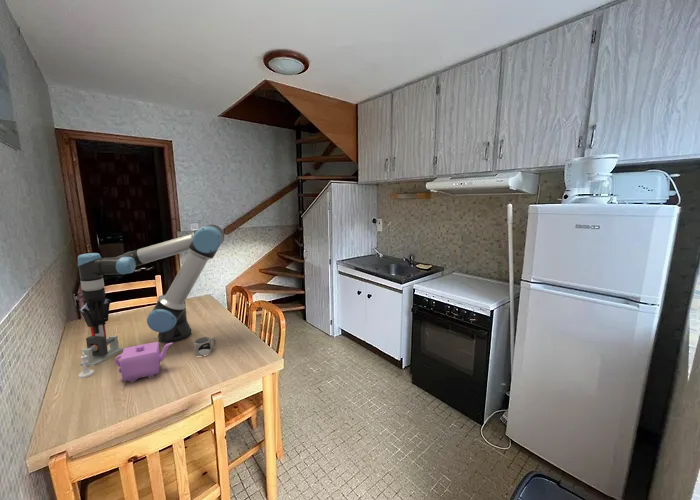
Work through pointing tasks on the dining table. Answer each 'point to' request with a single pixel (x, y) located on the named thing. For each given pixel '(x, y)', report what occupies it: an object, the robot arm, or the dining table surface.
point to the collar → (101, 344)
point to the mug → (203, 346)
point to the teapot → (140, 361)
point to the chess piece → (85, 368)
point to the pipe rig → (98, 359)
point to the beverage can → (95, 335)
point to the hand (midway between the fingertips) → (100, 339)
